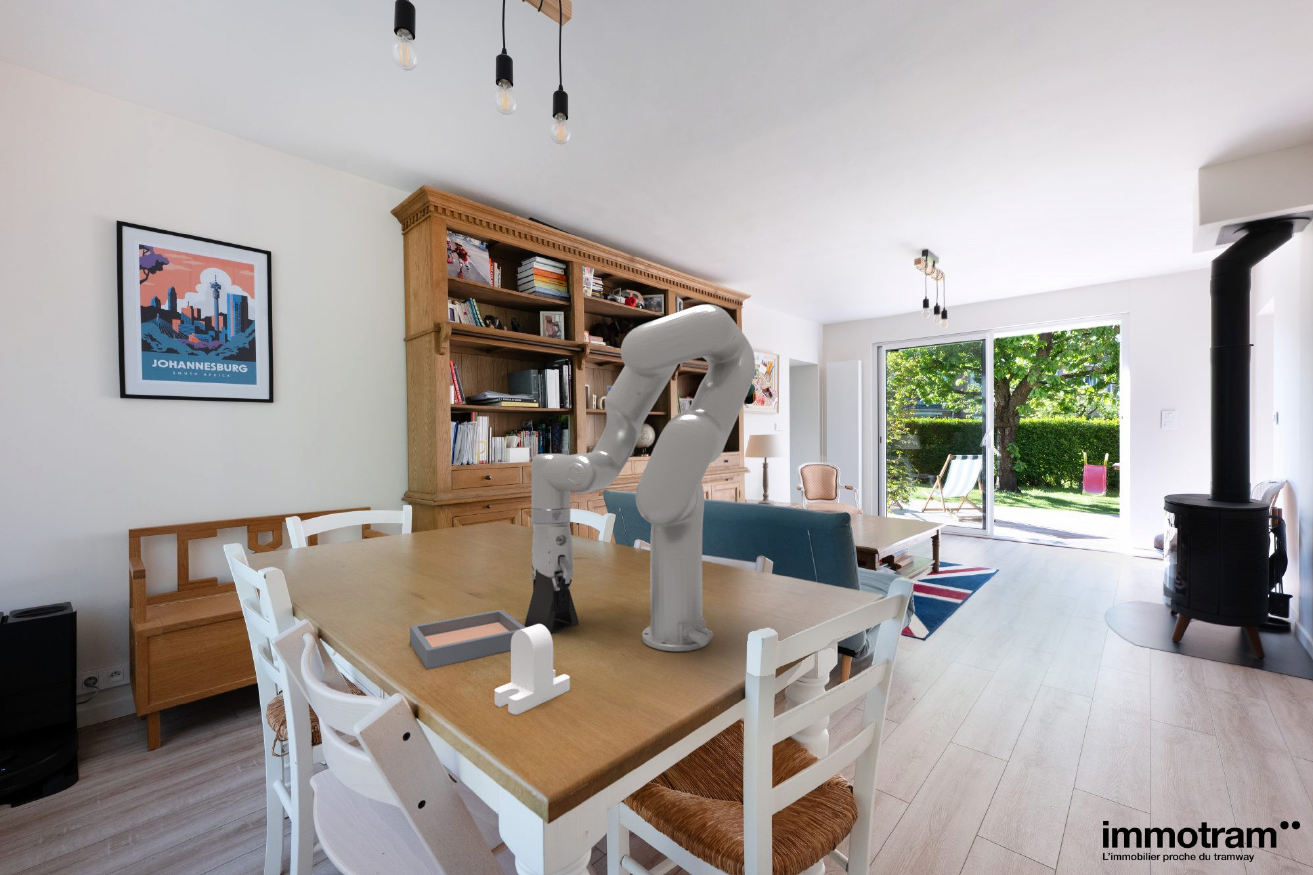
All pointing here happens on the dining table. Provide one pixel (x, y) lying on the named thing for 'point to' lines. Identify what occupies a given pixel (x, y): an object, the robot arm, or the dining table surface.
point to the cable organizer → (531, 672)
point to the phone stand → (549, 607)
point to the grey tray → (463, 638)
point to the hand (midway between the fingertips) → (550, 603)
